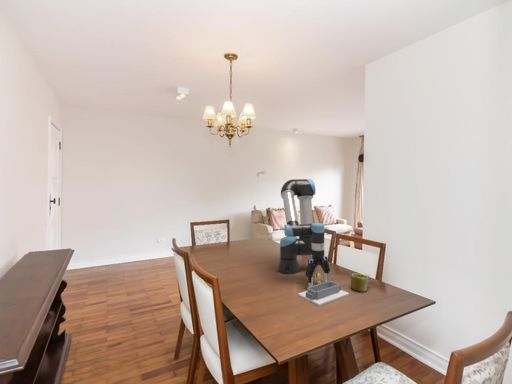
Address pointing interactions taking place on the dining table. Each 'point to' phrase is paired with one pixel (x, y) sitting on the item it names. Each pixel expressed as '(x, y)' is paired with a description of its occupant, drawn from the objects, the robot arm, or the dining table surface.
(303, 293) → the white grey flat tray
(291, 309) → the dining table surface
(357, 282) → the mug
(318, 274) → the pin
